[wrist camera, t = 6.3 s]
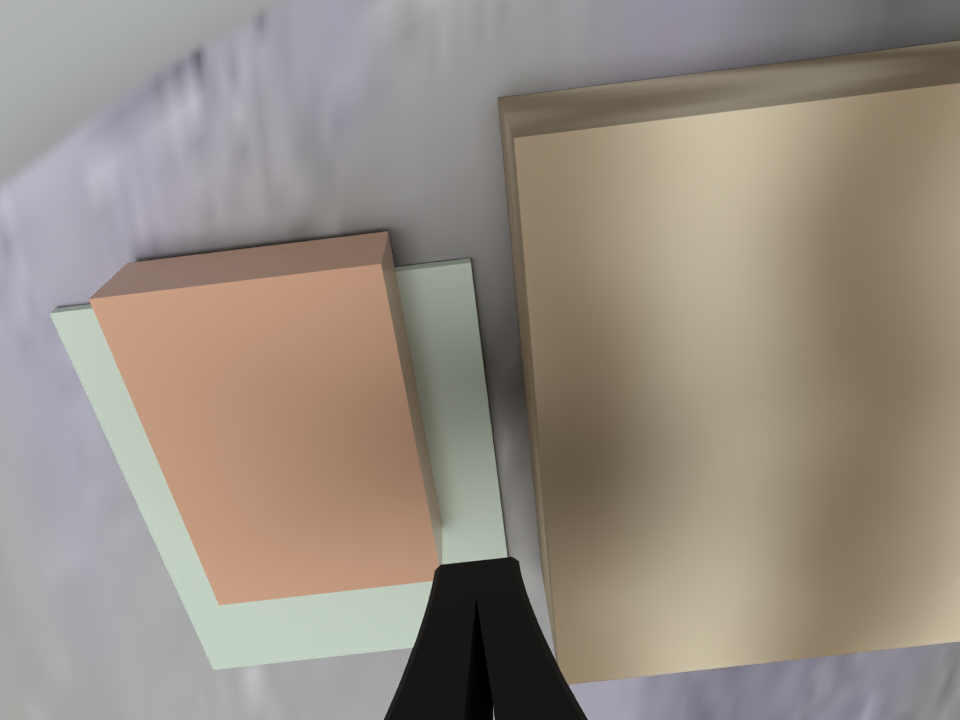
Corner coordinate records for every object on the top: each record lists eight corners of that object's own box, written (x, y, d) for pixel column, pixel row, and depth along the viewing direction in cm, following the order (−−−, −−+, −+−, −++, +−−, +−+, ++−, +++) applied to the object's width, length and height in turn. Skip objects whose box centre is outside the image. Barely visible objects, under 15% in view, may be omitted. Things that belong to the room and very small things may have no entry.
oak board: (1162, 15, 15) (1386, 30, 11) (994, 518, 21) (1100, 625, 18) (497, 98, 15) (513, 137, 11) (541, 570, 22) (560, 685, 18)
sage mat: (470, 258, 17) (470, 262, 16) (516, 628, 23) (517, 635, 23) (55, 308, 17) (49, 313, 16) (216, 661, 23) (213, 669, 23)
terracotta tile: (88, 299, 14) (127, 263, 16) (219, 605, 19) (238, 550, 20) (381, 263, 14) (388, 231, 16) (442, 580, 19) (442, 527, 20)
